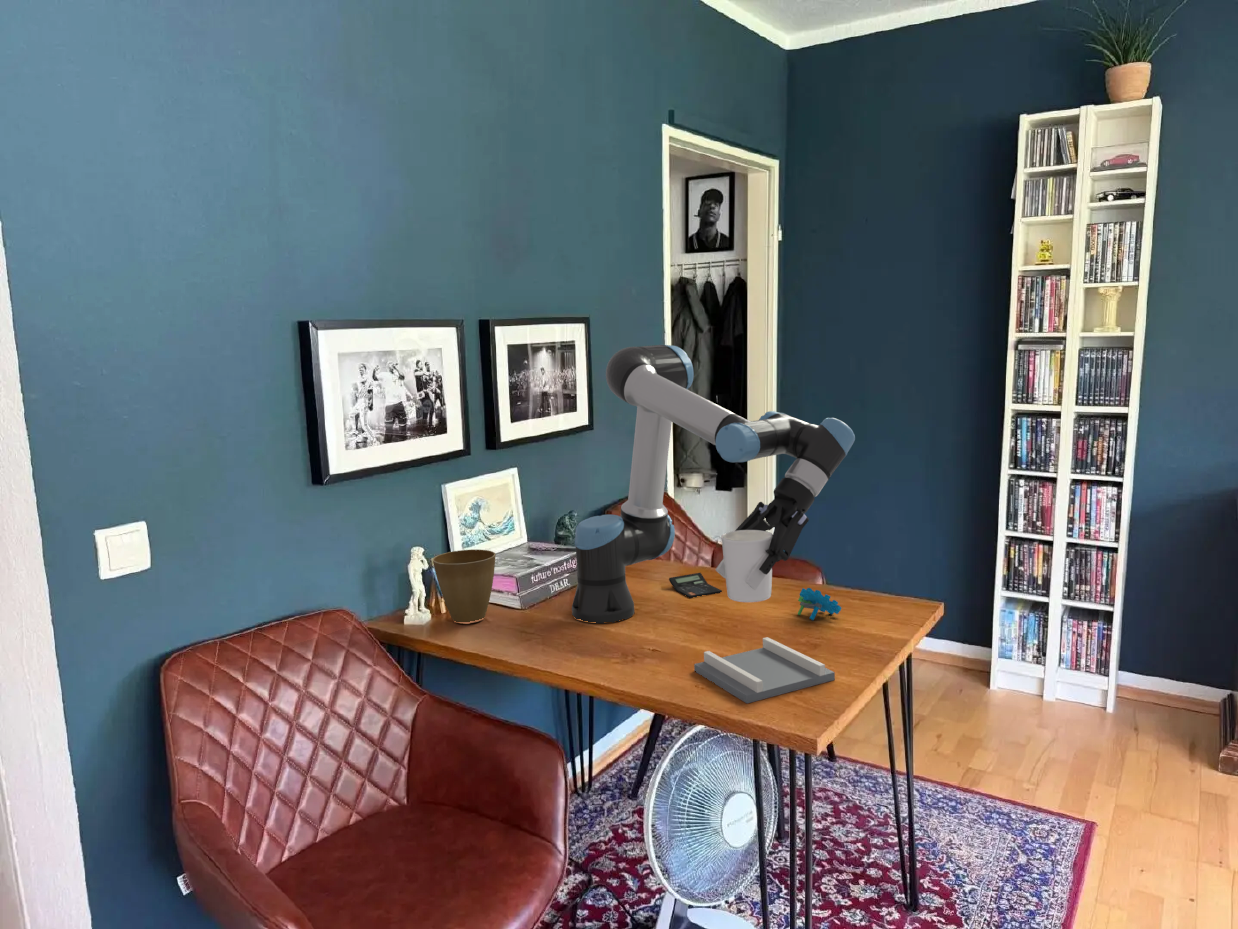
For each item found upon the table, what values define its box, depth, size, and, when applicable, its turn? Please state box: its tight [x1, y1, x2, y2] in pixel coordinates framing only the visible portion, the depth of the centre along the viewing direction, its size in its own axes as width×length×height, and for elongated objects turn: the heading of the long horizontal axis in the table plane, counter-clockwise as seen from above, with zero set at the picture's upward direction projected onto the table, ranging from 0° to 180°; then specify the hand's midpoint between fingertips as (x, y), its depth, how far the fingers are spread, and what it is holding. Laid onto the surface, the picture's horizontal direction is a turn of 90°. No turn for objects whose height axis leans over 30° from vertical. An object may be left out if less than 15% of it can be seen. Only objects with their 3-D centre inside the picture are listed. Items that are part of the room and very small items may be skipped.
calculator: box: [668, 572, 723, 599], centre depth 225 cm, size 9×12×3 cm
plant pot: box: [432, 548, 496, 622], centre depth 207 cm, size 15×15×16 cm
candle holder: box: [720, 530, 773, 603], centre depth 165 cm, size 10×10×12 cm
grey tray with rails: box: [693, 636, 836, 704], centre depth 166 cm, size 20×18×4 cm
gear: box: [797, 587, 842, 621], centre depth 198 cm, size 11×6×10 cm
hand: (734, 579), depth 164 cm, fingers closed on candle holder, 9 cm apart
